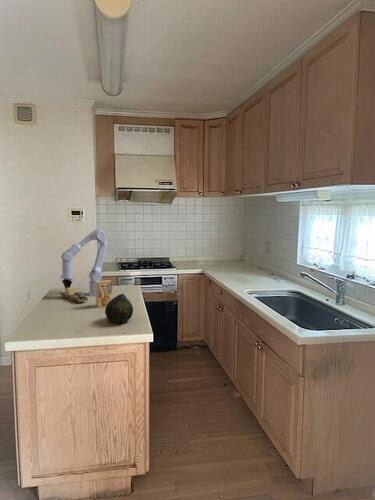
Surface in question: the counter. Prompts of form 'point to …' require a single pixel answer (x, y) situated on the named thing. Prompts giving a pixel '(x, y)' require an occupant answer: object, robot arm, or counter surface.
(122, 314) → the squash
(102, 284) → the candy box
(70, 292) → the rider
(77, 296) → the gnarled wood piece
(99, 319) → the counter surface
